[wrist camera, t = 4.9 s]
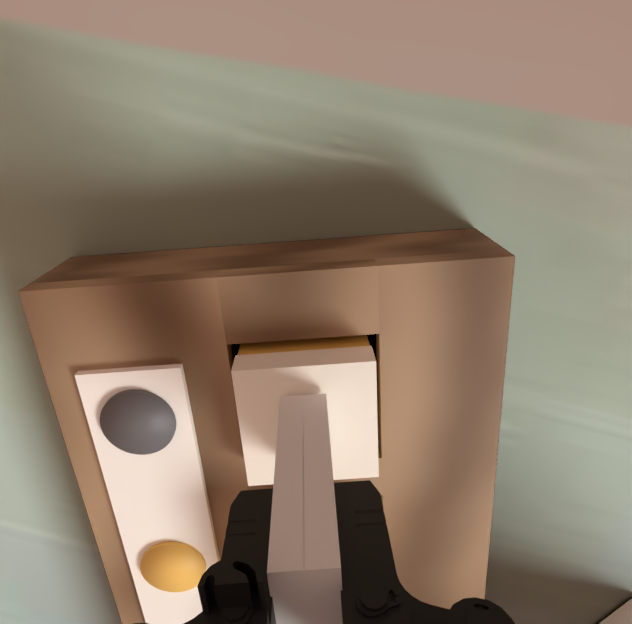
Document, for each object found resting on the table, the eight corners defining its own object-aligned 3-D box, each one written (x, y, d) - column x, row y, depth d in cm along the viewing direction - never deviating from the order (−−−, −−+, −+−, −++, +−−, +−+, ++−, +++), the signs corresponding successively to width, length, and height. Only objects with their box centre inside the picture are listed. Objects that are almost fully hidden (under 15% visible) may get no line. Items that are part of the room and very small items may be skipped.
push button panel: (182, 363, 17) (179, 370, 17) (245, 693, 24) (244, 704, 23) (77, 370, 17) (71, 378, 17) (171, 698, 24) (168, 709, 23)
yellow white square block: (362, 313, 19) (376, 361, 16) (365, 412, 21) (378, 477, 17) (244, 321, 19) (230, 371, 16) (257, 419, 21) (248, 486, 17)
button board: (475, 228, 20) (515, 256, 16) (452, 637, 29) (474, 715, 25) (71, 256, 20) (17, 291, 16) (176, 656, 29) (157, 737, 25)
